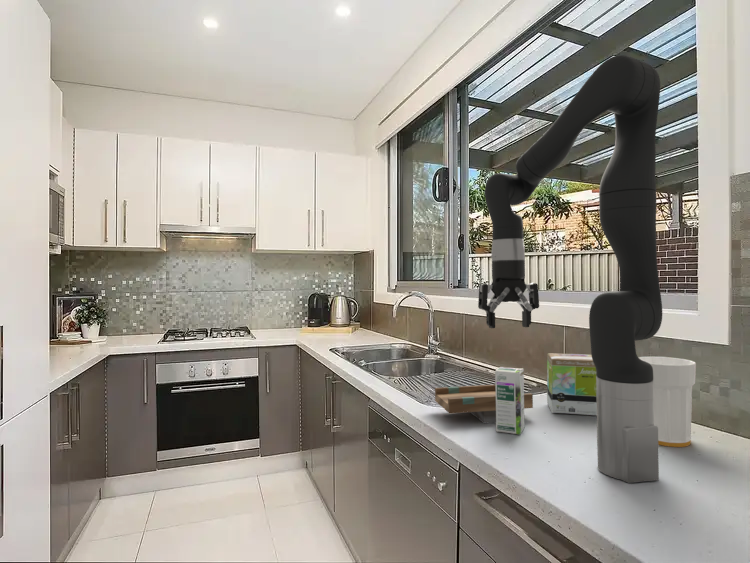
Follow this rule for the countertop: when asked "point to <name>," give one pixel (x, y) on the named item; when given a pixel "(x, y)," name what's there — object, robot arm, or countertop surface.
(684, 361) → the cup
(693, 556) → the countertop surface
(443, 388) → the beam
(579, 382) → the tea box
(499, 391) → the syrup box
